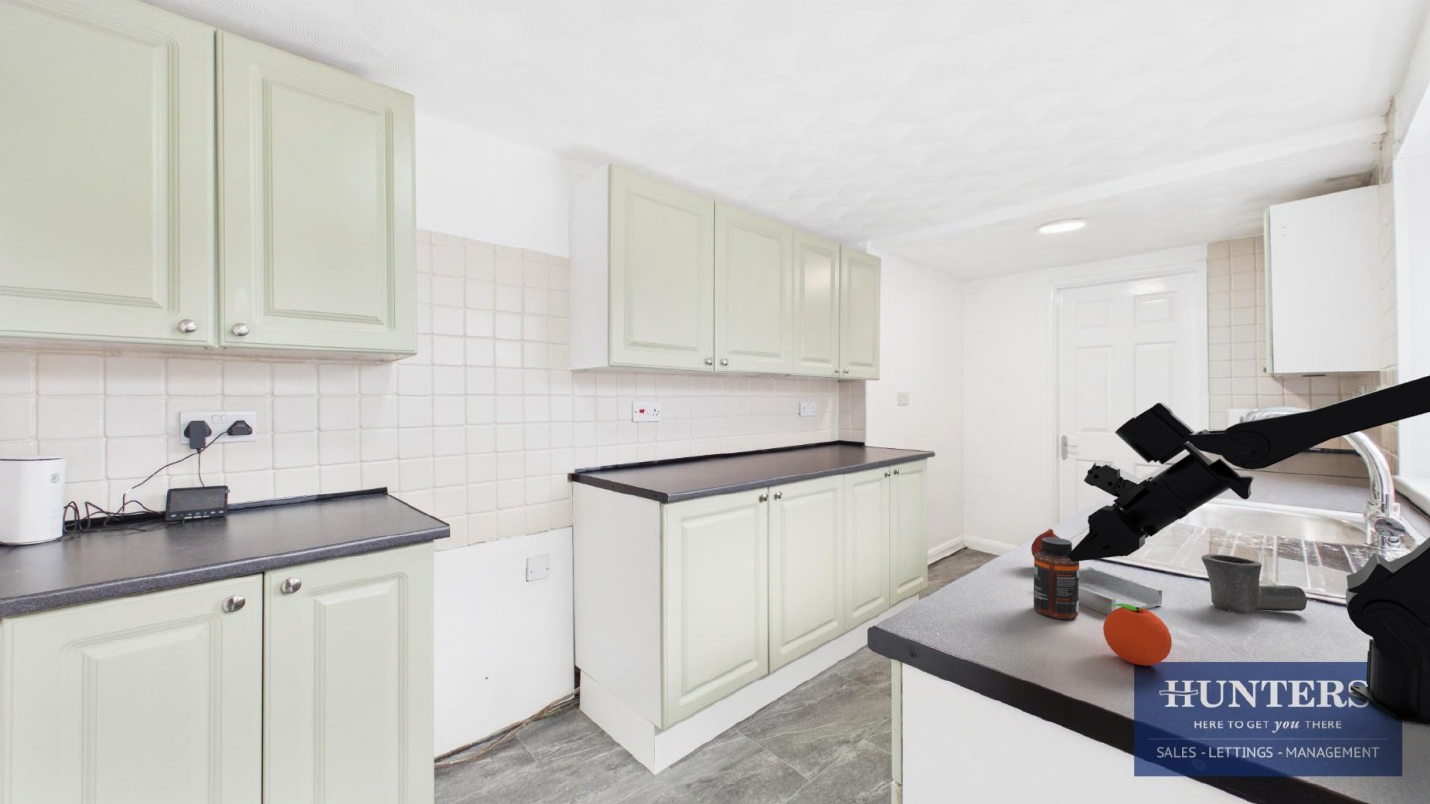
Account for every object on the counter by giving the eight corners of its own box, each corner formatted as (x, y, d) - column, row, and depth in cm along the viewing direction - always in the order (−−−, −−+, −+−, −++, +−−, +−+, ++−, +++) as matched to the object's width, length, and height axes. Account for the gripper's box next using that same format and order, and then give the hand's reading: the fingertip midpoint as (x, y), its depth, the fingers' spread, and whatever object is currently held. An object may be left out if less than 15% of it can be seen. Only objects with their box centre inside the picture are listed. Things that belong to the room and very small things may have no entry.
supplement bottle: (1087, 617, 84) (1089, 543, 83) (1060, 624, 81) (1062, 547, 81) (1050, 603, 89) (1052, 533, 89) (1024, 608, 87) (1025, 537, 87)
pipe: (1314, 622, 82) (1316, 569, 82) (1215, 614, 85) (1216, 562, 85) (1282, 606, 88) (1284, 556, 88) (1189, 599, 91) (1191, 551, 91)
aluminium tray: (1161, 606, 88) (1162, 590, 88) (1111, 616, 84) (1112, 599, 84) (1089, 581, 99) (1090, 567, 99) (1042, 589, 95) (1042, 574, 95)
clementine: (1082, 651, 73) (1083, 598, 73) (1114, 641, 76) (1116, 590, 75) (1150, 681, 66) (1151, 622, 65) (1183, 669, 68) (1185, 612, 68)
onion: (1024, 567, 106) (1025, 526, 106) (1043, 563, 109) (1044, 523, 109) (1053, 577, 101) (1054, 533, 101) (1073, 572, 104) (1074, 530, 103)
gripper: (1142, 439, 84) (1058, 499, 93) (1110, 449, 72) (1016, 517, 80) (1209, 499, 79) (1112, 557, 87) (1186, 521, 66) (1076, 586, 75)
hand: (1079, 552), depth 83 cm, fingers open, 9 cm apart
